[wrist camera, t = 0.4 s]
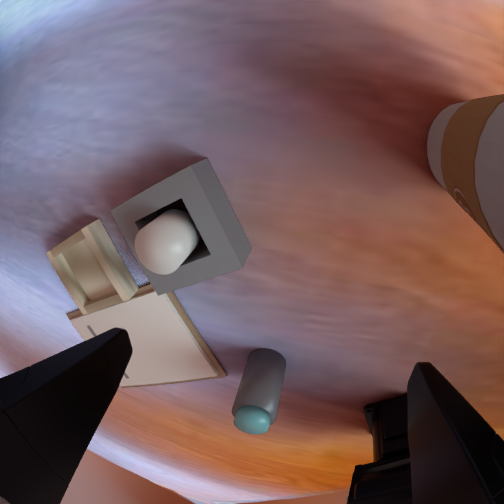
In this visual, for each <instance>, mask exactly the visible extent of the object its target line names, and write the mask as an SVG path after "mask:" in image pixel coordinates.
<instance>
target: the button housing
mask: <svg viewBox="0 0 504 504" xmlns="http://www.w3.org/2000/svg"><path fill="white" fill-rule="evenodd" d="M180 198H182V200H183V202H184V204H185V206H186V208H187V210H188V212H189V214H190V215H191V217H192V219H193V221H194V223H195V225H196V227H197V229H198V231H199V233H200V235H201V237H202V238H203V240H204V242H205V244H204V245H202V246H199V247H197V248H195V249H194V250H193V251H192V252H191V253H190V255H189V256H188V257H187V258H186V259H185V260H184V262H183V263H182V264H181V265H180V266H179V267H178V269H177V270H176V271H174V272H173V273H170V274H166V275H161V274H156V273H154V272H152V271H150V270H148V269H147V268H146V267H145V266H144V265H143V264H142V263H141V262H140V260H139V259H138V257H137V254H136V251H135V238H136V235H137V233H138V232H139V231H140V230H141V229H142V228H143V227H145V226H146V225H147V224H149V223H150V222H152V221H153V220H154V219H156V218H157V217H158V216H159V215H158V213H157V210H159V209H160V208H162V207H164V206H166V205H168V204H170V203H172V202H174V201H176V200H178V199H180ZM110 213H111V214H112V216H113V218H114V220H115V222H116V224H117V226H118V228H119V229H120V231H121V233H122V235H123V237H124V238H125V240H126V242H127V244H128V246H129V247H130V249H131V251H132V253H133V254H134V256H135V258H136V260H137V261H138V263H139V265H140V267H141V268H142V270H143V272H144V273H145V275H146V277H147V278H148V280H149V282H150V283H151V285H152V287H153V288H154V290H155V291H156V293H157V295H158V296H159V295H162V294H165V293H168V292H171V291H174V290H177V289H180V288H183V287H186V286H189V285H192V284H196V283H199V282H202V281H205V280H208V279H211V278H214V277H217V276H220V275H223V274H226V273H229V272H231V271H234V270H237V269H240V268H243V266H244V264H245V261H246V259H247V257H248V255H249V253H250V251H251V249H252V247H251V245H250V243H249V241H248V239H247V237H246V235H245V233H244V231H243V229H242V227H241V225H240V223H239V221H238V219H237V217H236V215H235V213H234V211H233V209H232V207H231V205H230V203H229V200H228V198H227V196H226V194H225V192H224V190H223V188H222V186H221V184H220V182H219V180H218V178H217V176H216V174H215V172H214V170H213V168H212V166H211V164H210V162H209V160H208V158H206V159H204V160H201V161H199V162H197V163H195V164H193V165H190V166H189V167H187V168H185V169H183V170H181V171H179V172H177V173H175V174H173V175H172V176H170V177H168V178H166V179H164V180H162V181H161V182H159V183H157V184H155V185H153V186H152V187H150V188H148V189H146V190H144V191H143V192H141V193H139V194H138V195H136V196H134V197H132V198H131V199H129V200H127V201H126V202H124V203H122V204H121V205H119V206H117V207H116V208H114V209H112V210H111V211H110Z"/></svg>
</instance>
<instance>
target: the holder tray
mask: <svg viewBox="0 0 504 504" xmlns="http://www.w3.org/2000/svg"><path fill="white" fill-rule="evenodd" d="M46 255H47V257H48V258H49V260H50V262H51V264H52V265H53V267H54V269H55V271H56V272H57V274H58V276H59V277H60V279H61V281H62V282H63V284H64V286H65V287H66V289H67V291H68V292H69V294H70V295H71V297H72V299H73V300H74V302H75V303H76V305H77V306H78V308H79V309H80V311H81V312H82V314H83V315H86V314H89V313H91V312H94V311H97V310H100V309H103V308H106V307H109V306H112V305H115V304H118V303H121V302H124V301H127V300H130V299H131V297H132V296H133V295H134V294H135V293H136V292H137V291H138V288H139V287H138V285H137V284H136V282H135V280H134V279H133V277H132V275H131V274H130V272H129V270H128V269H127V267H126V265H125V264H124V262H123V260H122V258H121V257H120V255H119V253H118V251H117V250H116V248H115V246H114V244H113V243H112V241H111V239H110V237H109V235H108V233H107V232H106V230H105V228H104V226H103V224H102V222H101V220H100V219H97V220H96V221H94V222H92V223H91V224H89V225H87V226H86V227H84V228H83V229H81V230H80V231H78V232H77V233H75V234H74V235H72V236H71V237H69V238H68V239H66V240H65V241H63V242H62V243H60V244H59V245H57V246H56V247H54V248H53V249H51V250H50V251H49V252H47V253H46Z"/></svg>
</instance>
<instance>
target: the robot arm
mask: <svg viewBox="0 0 504 504" xmlns="http://www.w3.org/2000/svg"><path fill="white" fill-rule="evenodd" d="M132 352H133V349H132V345H131V341H130V338H129V335H128V332H127V330H125V329H122V328H118V327H115V328H112V329H110V330H108V331H106V332H103V333H101V334H99V335H97V336H95V337H93V338H90V339H88V340H86V341H84V342H82V343H80V344H77V345H75V346H73V347H71V348H69V349H66V350H64V351H62V352H60V353H58V354H55V355H53V356H51V357H49V358H47V359H44V360H42V361H40V362H38V363H35V364H33V365H31V367H30V366H29V367H26V368H24V369H22V370H20V371H17V372H15V373H13V374H10V375H8V376H5V377H2V378H0V504H60V503H61V500H62V498H63V496H64V494H65V492H66V490H67V488H68V485H69V483H70V481H71V479H72V477H73V475H74V473H75V471H76V469H77V467H78V465H79V463H80V460H81V459H82V457H83V455H84V453H85V451H86V449H87V447H88V445H89V443H90V441H91V439H92V437H93V435H94V433H95V431H96V429H97V427H98V426H99V424H100V422H101V420H102V418H103V416H104V414H105V412H106V410H107V409H108V407H109V405H110V403H111V401H112V399H113V397H114V395H115V393H116V392H117V389H118V387H119V385H120V382H121V380H122V378H123V375H124V373H125V370H126V368H127V366H128V363H129V361H130V358H131V356H132ZM364 414H365V417H366V419H367V422H368V425H369V428H370V431H371V434H372V437H373V455H374V462H372V463H368V464H364V465H361V464H360V465H356V466H355V470H354V473H353V476H352V482H351V486H350V492H349V496H348V501H347V504H504V441H503V439H502V438H501V437H500V436H499V435H498V434H496V432H495V431H494V429H493V428H492V427H491V426H490V425H489V424H488V423H487V422H486V421H485V420H484V419H483V417H482V416H481V415H480V414H479V413H478V412H477V411H476V410H475V409H474V408H473V407H472V406H471V405H470V403H469V402H468V401H467V400H466V399H465V398H464V397H463V396H462V395H461V394H460V393H459V392H458V391H457V390H456V389H455V388H454V387H453V386H452V385H451V384H450V382H449V381H448V380H447V379H446V378H445V377H444V376H443V375H442V374H441V373H440V372H439V371H438V370H437V369H436V368H435V367H434V366H433V365H432V364H431V363H429V362H418V363H416V365H415V366H414V369H413V371H412V374H411V376H410V379H409V381H408V385H407V395H405V396H401V397H398V398H394V399H390V400H387V401H383V402H379V403H375V404H371V405H367V406H365V407H364Z"/></svg>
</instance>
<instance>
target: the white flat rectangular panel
mask: <svg viewBox="0 0 504 504" xmlns="http://www.w3.org/2000/svg"><path fill="white" fill-rule="evenodd" d="M67 316H68V318H69V319H70V321H71V322H72V324H73V325H74V327H75V328H76V330H77V331H78V332H79V334H80V335H81V337H82V338H83V339H84V341H86V340H88V339H90V338H93V337H95V336H97V335H99V334H101V333H103V332H106V331H108V330H110V329H112V328H115V327H118V328H122V329H125V330H127V332H128V335H129V338H130V341H131V345H132V349H133V352H132V356H131V358H130V361H129V363H128V366H127V368H126V370H125V373H124V375H123V378H122V380H121V382H120V386H121V387H122V388H126V387H140V386H153V385H163V384H173V383H182V382H191V381H198V380H206V379H213V378H220V377H226V376H227V373H226V372H225V370H224V369H223V368H222V366H221V365H220V363H219V362H218V360H217V359H216V357H215V356H214V354H213V353H212V351H211V350H210V348H209V347H208V345H207V344H206V342H205V341H204V339H203V338H202V336H201V335H200V333H199V332H198V330H197V329H196V327H195V325H194V324H193V322H192V321H191V319H190V318H189V316H188V314H187V313H186V311H185V310H184V308H183V306H182V305H181V303H180V302H179V300H178V298H177V297H176V295H175V293H174V292H173V291H171V292H168V293H165V294H162V295H159V296H158V295H157V293H156V291H155V290H154V288H153V287H152V285H151V283H150V284H148V285H145V286H142V287H139V288H138V291H137V292H136V293H135V294H134V295H133V296H132V297H131V299H130V300H127V301H124V302H121V303H118V304H115V305H112V306H109V307H106V308H103V309H100V310H97V311H94V312H91V313H89V314H86V315H83V314H82V312H81V311H80V309H79V310H77V311H74V312H71V313H68V314H67Z"/></svg>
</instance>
